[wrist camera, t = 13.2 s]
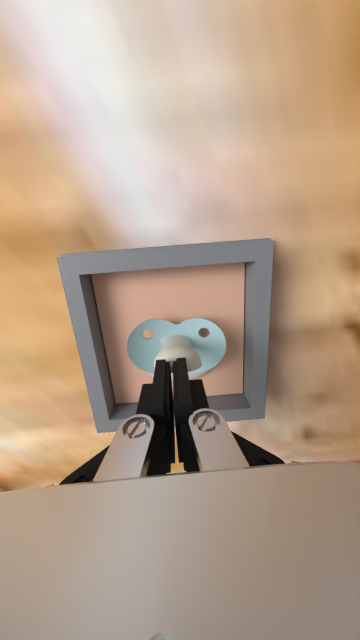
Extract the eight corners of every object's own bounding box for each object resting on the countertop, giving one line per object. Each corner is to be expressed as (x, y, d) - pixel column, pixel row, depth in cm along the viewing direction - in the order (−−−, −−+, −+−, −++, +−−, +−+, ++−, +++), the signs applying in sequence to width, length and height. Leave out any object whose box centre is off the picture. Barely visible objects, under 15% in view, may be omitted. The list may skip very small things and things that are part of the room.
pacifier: (217, 375, 19) (220, 312, 17) (237, 432, 13) (245, 345, 11) (136, 378, 19) (130, 314, 17) (120, 437, 13) (107, 349, 11)
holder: (265, 239, 17) (286, 235, 14) (259, 396, 21) (273, 420, 18) (66, 254, 17) (42, 253, 14) (100, 410, 21) (88, 436, 18)
